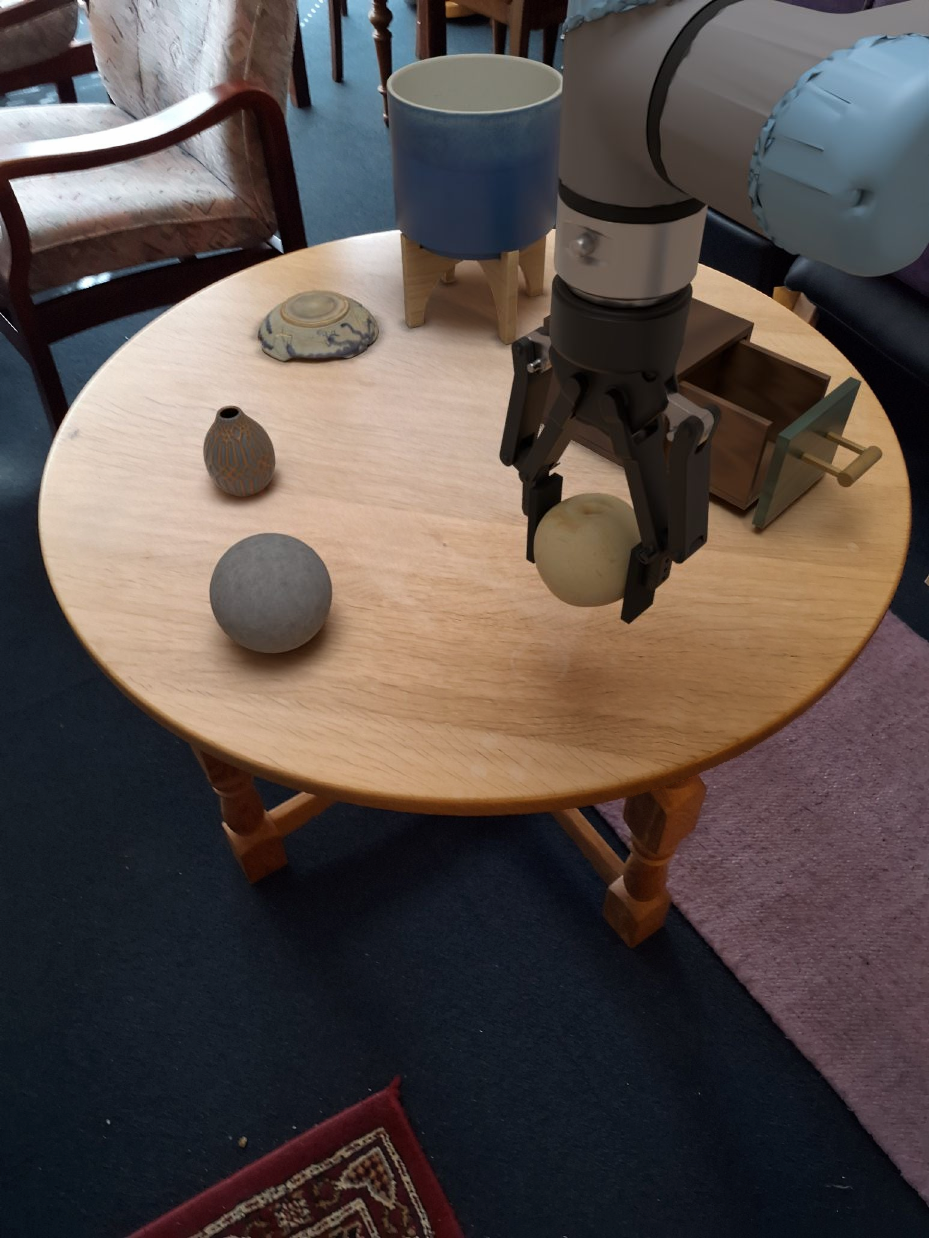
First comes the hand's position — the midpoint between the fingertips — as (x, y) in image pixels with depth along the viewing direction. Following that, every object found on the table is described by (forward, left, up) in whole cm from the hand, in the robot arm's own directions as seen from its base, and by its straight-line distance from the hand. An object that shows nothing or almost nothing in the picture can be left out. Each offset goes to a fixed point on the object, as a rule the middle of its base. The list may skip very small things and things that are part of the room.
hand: (587, 580), depth 64 cm
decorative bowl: (+59, -21, -13) cm, 64 cm away
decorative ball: (+22, +13, -13) cm, 29 cm away
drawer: (+4, -33, -12) cm, 35 cm away
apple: (0, 0, 0) cm, 0 cm away
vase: (+41, +3, -13) cm, 43 cm away
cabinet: (+19, -33, -13) cm, 40 cm away
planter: (+49, -39, -13) cm, 64 cm away
